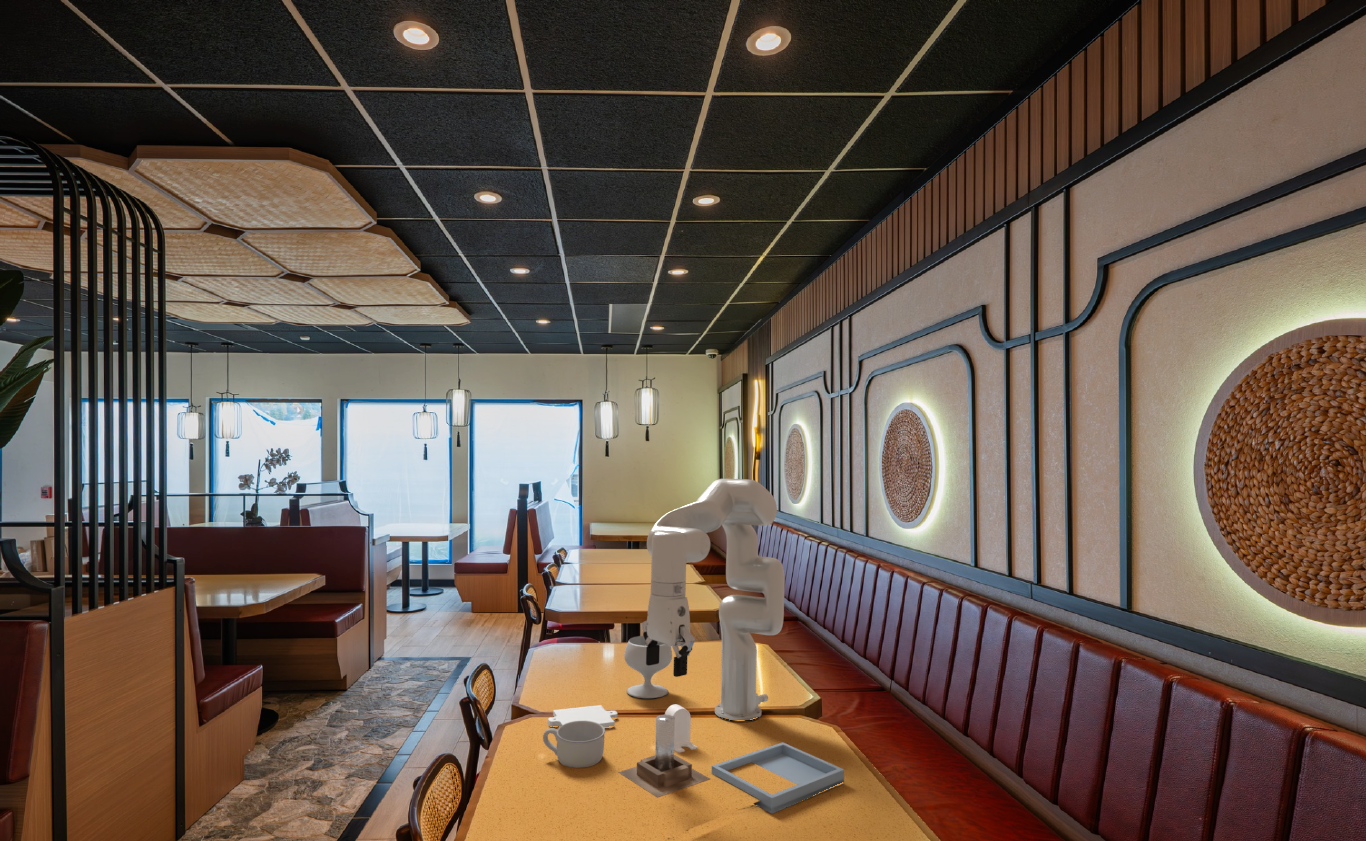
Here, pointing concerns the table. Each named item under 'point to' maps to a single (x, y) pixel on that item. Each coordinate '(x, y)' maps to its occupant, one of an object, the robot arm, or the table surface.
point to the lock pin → (664, 742)
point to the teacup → (577, 743)
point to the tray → (783, 775)
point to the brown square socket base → (663, 776)
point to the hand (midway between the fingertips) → (666, 669)
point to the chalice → (646, 667)
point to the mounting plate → (583, 716)
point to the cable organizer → (681, 727)
